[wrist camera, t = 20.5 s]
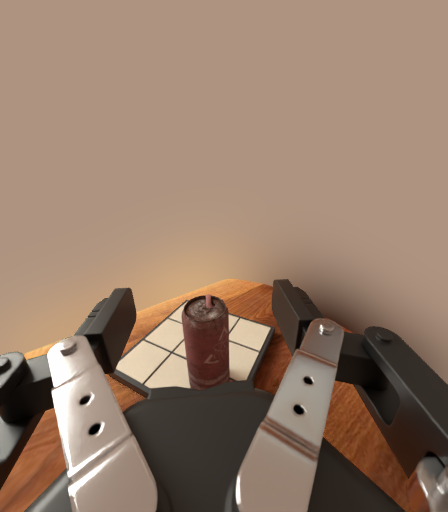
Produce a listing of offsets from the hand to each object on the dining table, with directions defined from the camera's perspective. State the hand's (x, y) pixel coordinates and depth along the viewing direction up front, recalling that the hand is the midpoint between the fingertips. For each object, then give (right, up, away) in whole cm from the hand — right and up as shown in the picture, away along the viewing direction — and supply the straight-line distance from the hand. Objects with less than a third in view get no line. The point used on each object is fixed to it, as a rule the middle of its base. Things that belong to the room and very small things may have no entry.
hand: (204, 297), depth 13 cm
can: (-1, -17, +22) cm, 28 cm away
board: (-3, -16, +29) cm, 33 cm away
